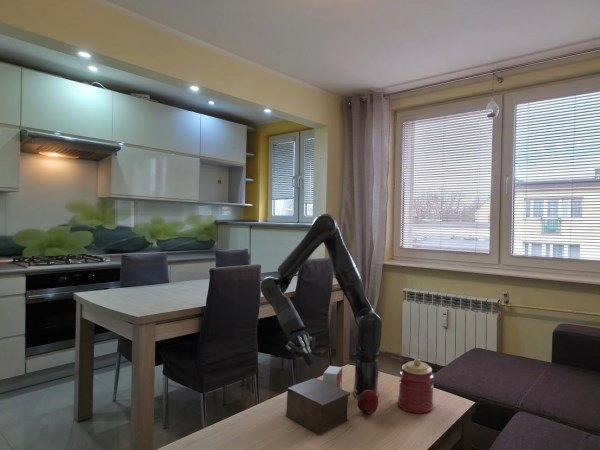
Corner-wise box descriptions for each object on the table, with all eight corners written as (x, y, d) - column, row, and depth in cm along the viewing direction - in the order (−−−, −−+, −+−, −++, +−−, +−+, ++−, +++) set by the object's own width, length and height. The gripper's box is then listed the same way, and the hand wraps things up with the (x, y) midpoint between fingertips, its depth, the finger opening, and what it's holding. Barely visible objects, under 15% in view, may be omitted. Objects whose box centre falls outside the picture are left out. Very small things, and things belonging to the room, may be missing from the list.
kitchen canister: (404, 395, 151) (406, 350, 151) (436, 402, 146) (438, 357, 146) (392, 408, 140) (395, 360, 140) (427, 417, 134) (429, 367, 134)
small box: (335, 402, 142) (337, 374, 142) (321, 400, 143) (323, 372, 143) (341, 393, 150) (342, 367, 150) (328, 391, 151) (329, 365, 151)
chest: (347, 420, 130) (348, 394, 130) (319, 434, 120) (320, 406, 120) (313, 403, 140) (314, 379, 140) (286, 416, 131) (287, 390, 131)
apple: (382, 414, 135) (383, 391, 135) (365, 420, 130) (366, 397, 130) (369, 405, 141) (370, 384, 141) (352, 411, 136) (353, 389, 136)
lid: (350, 395, 129) (350, 392, 129) (322, 407, 119) (322, 405, 119) (314, 379, 140) (315, 377, 140) (287, 390, 131) (287, 387, 131)
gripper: (281, 319, 134) (302, 363, 126) (309, 313, 144) (330, 354, 136) (271, 331, 137) (291, 374, 129) (299, 325, 147) (320, 364, 139)
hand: (311, 364), depth 133 cm, fingers closed
